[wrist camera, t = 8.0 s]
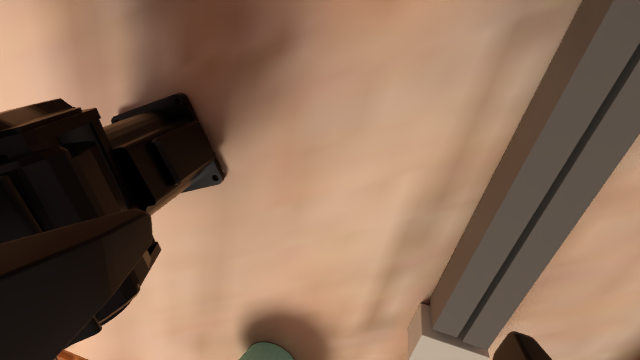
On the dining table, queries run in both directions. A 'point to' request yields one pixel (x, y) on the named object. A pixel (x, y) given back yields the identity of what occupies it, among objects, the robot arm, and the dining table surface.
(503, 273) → the tongs base
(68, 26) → the dining table surface
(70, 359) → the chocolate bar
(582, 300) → the dining table surface
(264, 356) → the cupcake
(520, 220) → the arm
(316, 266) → the dining table surface
